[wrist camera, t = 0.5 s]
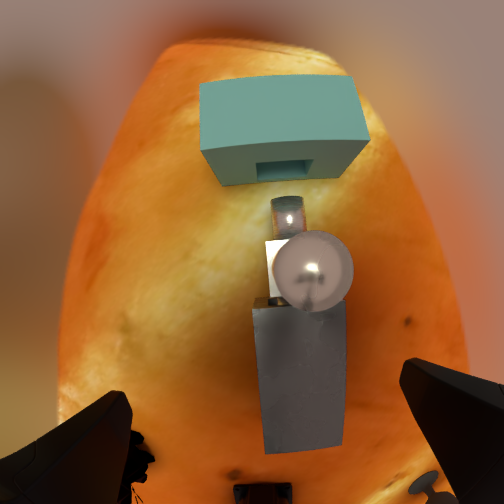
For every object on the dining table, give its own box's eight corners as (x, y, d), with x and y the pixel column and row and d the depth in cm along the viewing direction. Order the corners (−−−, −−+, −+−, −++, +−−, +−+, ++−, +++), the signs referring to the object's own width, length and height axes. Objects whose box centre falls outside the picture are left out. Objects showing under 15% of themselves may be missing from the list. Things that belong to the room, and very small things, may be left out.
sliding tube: (318, 421, 20) (343, 502, 10) (279, 425, 21) (283, 511, 10) (307, 203, 21) (342, 153, 10) (262, 206, 21) (258, 157, 11)
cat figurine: (171, 469, 22) (136, 540, 10) (124, 465, 22) (81, 522, 10) (148, 423, 22) (93, 493, 10) (100, 421, 23) (41, 474, 11)
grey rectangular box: (329, 413, 21) (341, 445, 16) (265, 420, 22) (265, 454, 16) (327, 291, 22) (345, 300, 17) (255, 298, 22) (252, 309, 17)
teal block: (338, 177, 22) (370, 140, 14) (222, 186, 22) (200, 150, 15) (329, 127, 22) (351, 76, 14) (219, 134, 23) (199, 83, 15)
